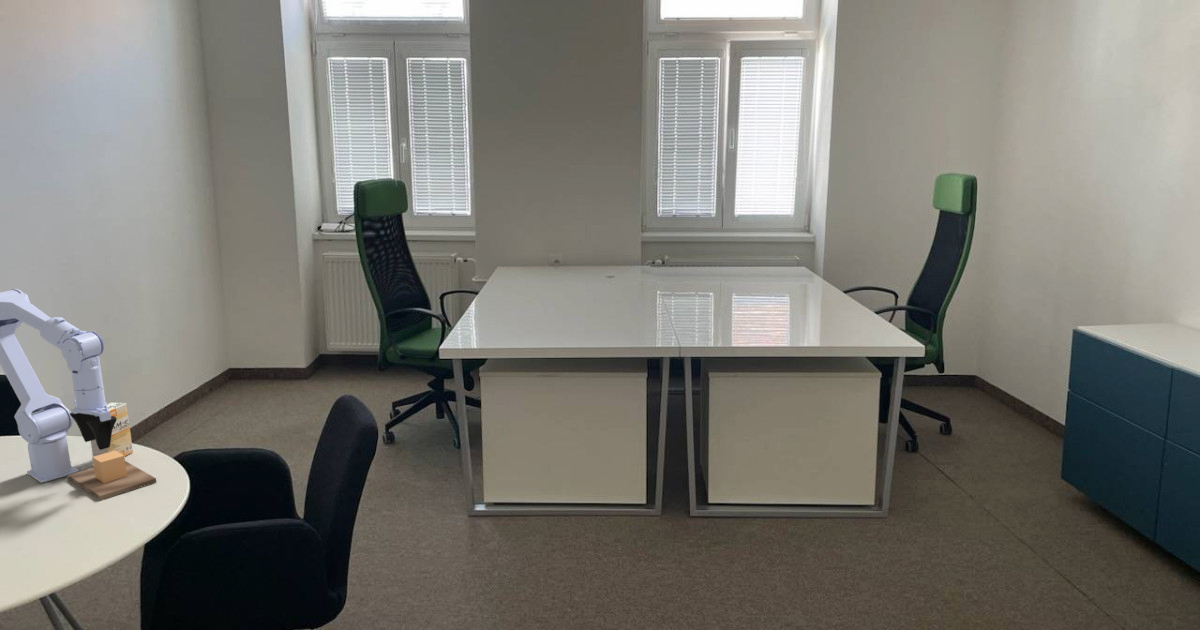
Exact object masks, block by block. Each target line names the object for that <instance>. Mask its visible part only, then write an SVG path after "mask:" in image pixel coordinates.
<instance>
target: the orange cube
mask: <svg viewBox="0 0 1200 630" xmlns="http://www.w3.org/2000/svg"><path fill="white" fill-rule="evenodd" d="M125 461H126V458H125V457H124V455H122V454H121V453H119V452H117V451H112V452H108V453H104V454H101V455H97V456H94V457H93V456H92V464H93V468H94V472H95V477H96V478H97V479H99V480H100V481H102V482H103V483H106V482H109V481H113V480H116V479H119V478H123V477H126V476H127V471H126V464H125Z"/></svg>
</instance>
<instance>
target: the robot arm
mask: <svg viewBox="0 0 1200 630" xmlns="http://www.w3.org/2000/svg"><path fill="white" fill-rule="evenodd" d="M22 323H24V324H26V325H28V326H29V327H31V328H34V329H35V330H37V331H39V333H40V338H42V340H44V341H46V342H47V343H49V344H51V345H52V346H54V347H56V348H57V349H59V350H60V351H61V354H62V357H63V359H64V360H65V361H66V364H67V368H68V370H69V371H71V379H72V385H73V391H74V400H73V405H74V408H71V410H69V409H68V408H67V407H66V406H65V405H64V404H63V401H62V400H61V399H60V397H57V396H54V395H50V394H48V393H46V390H45V389H44V387H43V385H42V384H41V382H40V379H39V378H38V376H37V373H36V372H35V370H34V368H33V367H32V365H31V363H30V361H29V359H28V357H27V356H26V355H27V354H25V352H24V350H23V348H22V346H21V344H20V342H19V341H18V339H17V337H16V334H15V333H16V329H18V328H19V327H21V325H22ZM104 350H105V343H104V341H103V338H102V336H100V334H98V332H96V331H95V330H88V331H86V330H81V329H80V328H78V327H77V326H75V325H74V324H73V325H72V324H71V323H70V322H68V321H66V319H65V318H64V317H62V316H60V317H58V316H57V317H56V316H55V317H50V316H49V315H47V314H46V313H45V312H43V311H42V310H40V309H39V308H38V307H36V306H35V305H34V304H32V303H31V301H30V298H29V296H28V294H27V293H24V292H23V291H22V290H21V289H18V288H12V289H10V290H6V291H1V292H0V368H2V370H3V372H4V374H5V376H6V379H7V380H8V381H9V384H10V386H11V387H12V389H13V391H14V393H15V395H16V397H17V398H18V400H19V402H20V406H19V407H18V409H17V410H16V413H15V414H14V416H13V417H14V419H15V421H16V424H17V430H18V433H19V436H21V439H23V440H24V441H25V442H26V443H27V452H28V457H29V463H30V469H29V470H27V471H26V473H27V474H28V475H29V476H30V477H33V479H35V480H37V481H38V482H39V483H41V484H43V483H45V482H50V481H53V480H56V479H59V478H64V477H66V476H67V477H68V475H70V474H74V473H77V472H79V470H78V469H77V468H75V466H72V463H71V456H70V452H69V446H68V445H69V444H68V438H67V435H68V434H70V429H71V428H72V426H73V422H75V423H76V424H77V427H78V429H79V432H80V434H81V436H82V439H83V440H84V442H85V443H87V442H91V441H92V440H96V443H97V446H98V448H99V449H100V450H102V449H105V448H109V447H110V443H111V435H112V430H113V427H114V424H115V422H116V420H117V418H116V417H115V416H111V415H110V411H109V410H108V407H107V404H108V402H107V401H106V395H105V387H104V381H103V373H102V368H101V361H100V356H101V355H102V354H103V353H104V352H105V351H104ZM73 420H74V421H73Z"/></svg>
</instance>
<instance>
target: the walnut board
mask: <svg viewBox="0 0 1200 630" xmlns="http://www.w3.org/2000/svg"><path fill="white" fill-rule="evenodd" d="M125 464H126V471H127V476H126V477H123V478H119V479H116V480H113V481H109V482H106V483H103V482H102V481H100V480H99V479H97V478H96V477H95V472H94V467H91V468H87V469H85V470H81V471H78V472H77V473H74V474H70V475H67V477H68V480H69V481H71V482H72V481H73V482H72V483H74V484H75V483H76V485H77V486H78V485H79V487H80V488H81V487H82V488H81V489H83V490H84V489H85V491H86V492H87V491H88V493H89V494H91V495H92V496H94V497H95V498H97V499H98V500H100V501H103V500H106V499H109V498H112V497H115V496H118V494H119V495H121V493H122V494H124V493H123V492H125V493H127V492H126V491H128V492H130V490H131V491H134V490H136V489H135V488H137V489H140V488H142V487H141V486H144V485H147V486H149V485H148V484H150V485H153V484H156V483H157V477H155V476H153V475H151V474H149V473H147V472H146V471H143V470H142V469H141V468H139V467H137V466H135V465H134V464H131V463H129V462H128V461H126V460H125ZM155 482H156V483H155ZM152 483H153V484H152ZM139 487H140V488H139ZM144 487H145V486H144ZM133 489H134V490H133ZM111 496H112V497H111ZM105 498H106V499H105ZM102 499H103V500H102Z"/></svg>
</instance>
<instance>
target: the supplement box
mask: <svg viewBox="0 0 1200 630" xmlns="http://www.w3.org/2000/svg"><path fill="white" fill-rule="evenodd" d="M107 407H108V410H109V411H110V415H111V416H115V417H116V418H117V420H116V422H115V424H114V427H113V430H112V435H111V443H110V447H109V448H105V449H102V450H100V449H99V448H98V446H97V443H96V440H92V441H90V445H91V452H92V453H91V455H92V457H94V456H97V455H101V454H104V453H108V452H112V451H117V452H119V453H121V454H122V455H124V458H125V457H126V456H129V455H130V454H133V453H134V450H133V443H132V433H131V428H130V421H129V419H130V418H129V413H128V412H129V411H128V405H127V403H126V402H109V403H107Z"/></svg>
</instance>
